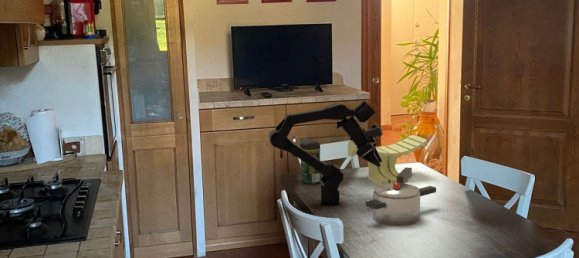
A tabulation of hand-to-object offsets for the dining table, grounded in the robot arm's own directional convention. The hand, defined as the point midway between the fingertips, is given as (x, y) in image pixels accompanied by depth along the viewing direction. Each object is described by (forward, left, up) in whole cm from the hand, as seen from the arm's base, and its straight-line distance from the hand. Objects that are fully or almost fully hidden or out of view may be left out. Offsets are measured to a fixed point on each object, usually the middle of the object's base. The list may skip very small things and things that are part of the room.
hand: (380, 164), depth 220 cm
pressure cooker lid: (+6, -13, -6) cm, 16 cm away
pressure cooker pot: (+6, -16, -15) cm, 23 cm away
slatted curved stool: (+6, +36, -15) cm, 39 cm away
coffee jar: (-27, +32, -15) cm, 45 cm away
